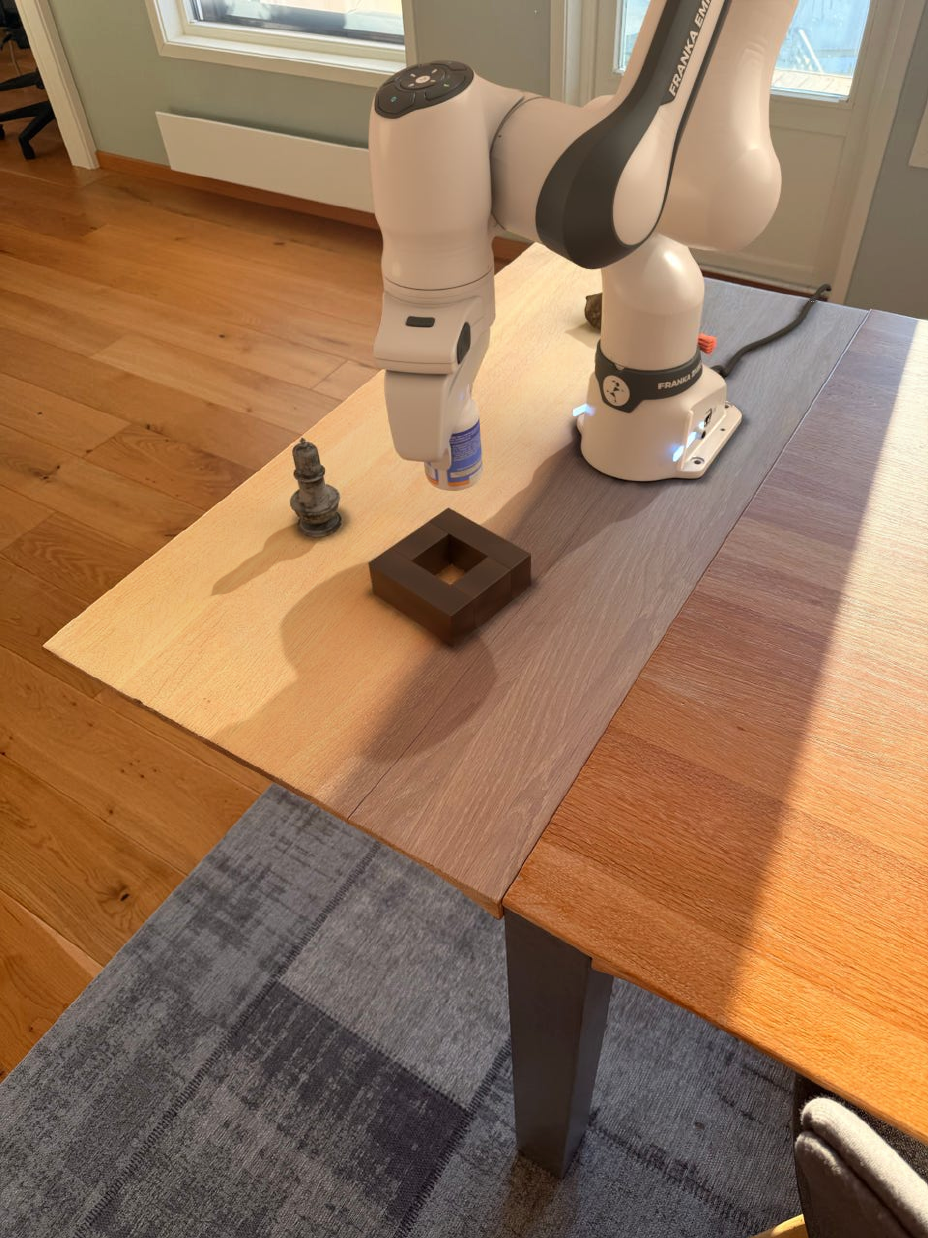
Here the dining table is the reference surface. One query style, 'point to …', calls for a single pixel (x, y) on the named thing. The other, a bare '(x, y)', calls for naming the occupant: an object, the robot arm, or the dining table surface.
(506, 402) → the dining table surface
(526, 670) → the dining table surface
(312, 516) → the grey metal finial
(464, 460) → the pill bottle
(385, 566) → the socket block
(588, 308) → the fossilized seashell
